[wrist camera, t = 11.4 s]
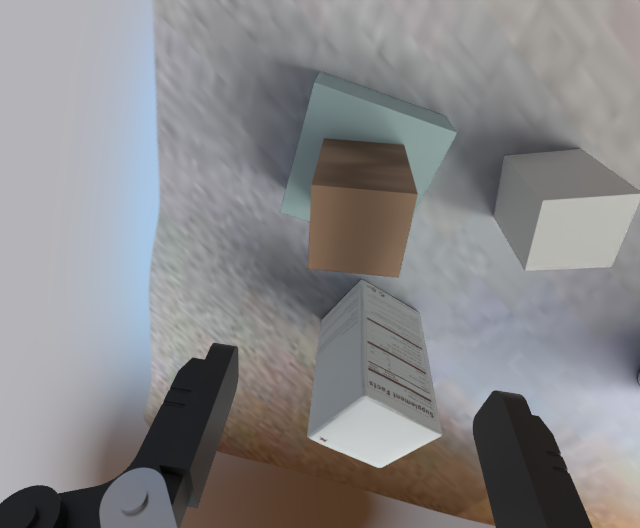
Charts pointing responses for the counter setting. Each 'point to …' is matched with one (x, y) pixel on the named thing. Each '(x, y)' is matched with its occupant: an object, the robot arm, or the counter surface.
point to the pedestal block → (364, 135)
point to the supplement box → (372, 379)
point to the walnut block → (361, 208)
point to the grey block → (563, 210)
